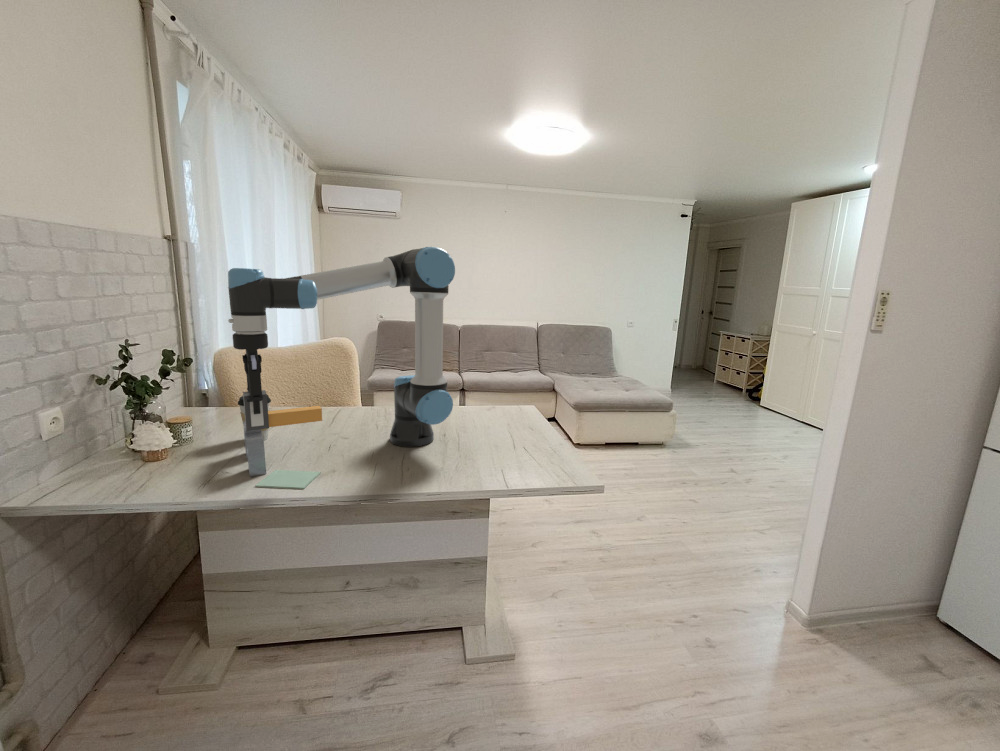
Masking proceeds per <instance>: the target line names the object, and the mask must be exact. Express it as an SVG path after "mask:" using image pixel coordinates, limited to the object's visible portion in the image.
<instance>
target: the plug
mask: <svg viewBox="0 0 1000 751" xmlns="http://www.w3.org/2000/svg"><path fill="white" fill-rule="evenodd" d="M267 395H268V394H267V391H266V390H265V389H263V390H262V396H263V399H262V405H263V419H264V425H262V426H254V427H252V426H251V413H250V402H247V400H249V399H250V391H242V396H243V399H244V411H245V424H246V430H247V431H251V430H260V429H268V430H269V429H270V428H273V427H275V428H276V427H281V426H292V425H299V424H300V425H301V424H306V423H316V422H323V410H322V406H320V405H312V406H305V407H293V408H284V409H276V410H275V409H274V410H270V411H268V404H267Z"/></svg>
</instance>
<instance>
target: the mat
mask: <svg viewBox="0 0 1000 751" xmlns="http://www.w3.org/2000/svg"><path fill="white" fill-rule="evenodd" d="M319 475H321V471H313V470H312V471H310V470H309V471H308V470H292V469H291V470H289V469H275V470H274V471H272V472H271V473H270V474H268V475H267V476H266V477H264V478H263V479H262V480H260V481H259V482H258V483H256V484H255V485H254V486H255V488H258V487H259V488H271V489H272V488H274V489H275V488H276V489H277V488H278V489H293V490H294V489H297V490H305V489H306V488H307V487H308V486H309V485H310V484H311V483H312V482H313V481H314V480H315V479H316V478H317V477H318V476H319Z"/></svg>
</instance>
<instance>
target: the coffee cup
mask: <svg viewBox="0 0 1000 751" xmlns="http://www.w3.org/2000/svg"><path fill="white" fill-rule="evenodd" d="M237 401H238V402H237V405H238V406H239V410H240V416H241V421H242V423H243V421H245V411H244V399H243V395H242V396H240V397H239V399H238V400H237ZM271 402H272V400H271V398H270V396H269V394H267V404H268V411H271V409H270V405H271V404H270V403H271ZM261 431H262V435H263V438H264V441H266V440H268V438H269V428H268V429H261Z"/></svg>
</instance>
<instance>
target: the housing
mask: <svg viewBox="0 0 1000 751" xmlns="http://www.w3.org/2000/svg"><path fill="white" fill-rule="evenodd" d="M242 424H243V427H242V428H243V436H244V448H245V450H244V451H245V456H246V460H247V466H248V473H249V477H250V478H251V477H256V476H263V475H267V467H266V465H267V463H266V455H265V454H266V452H265V440H264V438H263V435H262V431H261V429H260V430H251V431H247V430H246V424H245V421H243V422H242Z"/></svg>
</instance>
